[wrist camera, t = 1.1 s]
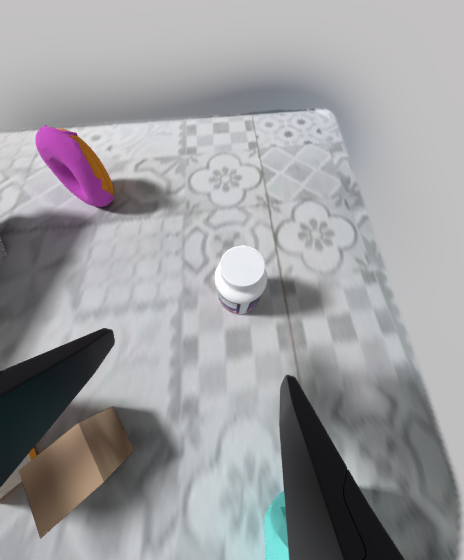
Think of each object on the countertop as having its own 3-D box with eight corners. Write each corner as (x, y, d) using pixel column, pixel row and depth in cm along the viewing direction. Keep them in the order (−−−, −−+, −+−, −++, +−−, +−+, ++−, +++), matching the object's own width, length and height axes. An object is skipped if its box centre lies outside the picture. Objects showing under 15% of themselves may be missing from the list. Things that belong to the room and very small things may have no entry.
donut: (78, 225, 29) (5, 165, 20) (73, 183, 32) (8, 114, 23) (129, 210, 30) (82, 148, 21) (119, 171, 33) (75, 101, 24)
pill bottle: (253, 273, 26) (264, 233, 17) (262, 310, 24) (281, 287, 15) (215, 280, 26) (207, 243, 17) (222, 318, 24) (217, 300, 15)
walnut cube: (134, 449, 19) (103, 481, 15) (89, 489, 18) (40, 539, 13) (112, 405, 21) (78, 422, 16) (69, 441, 20) (18, 470, 15)
